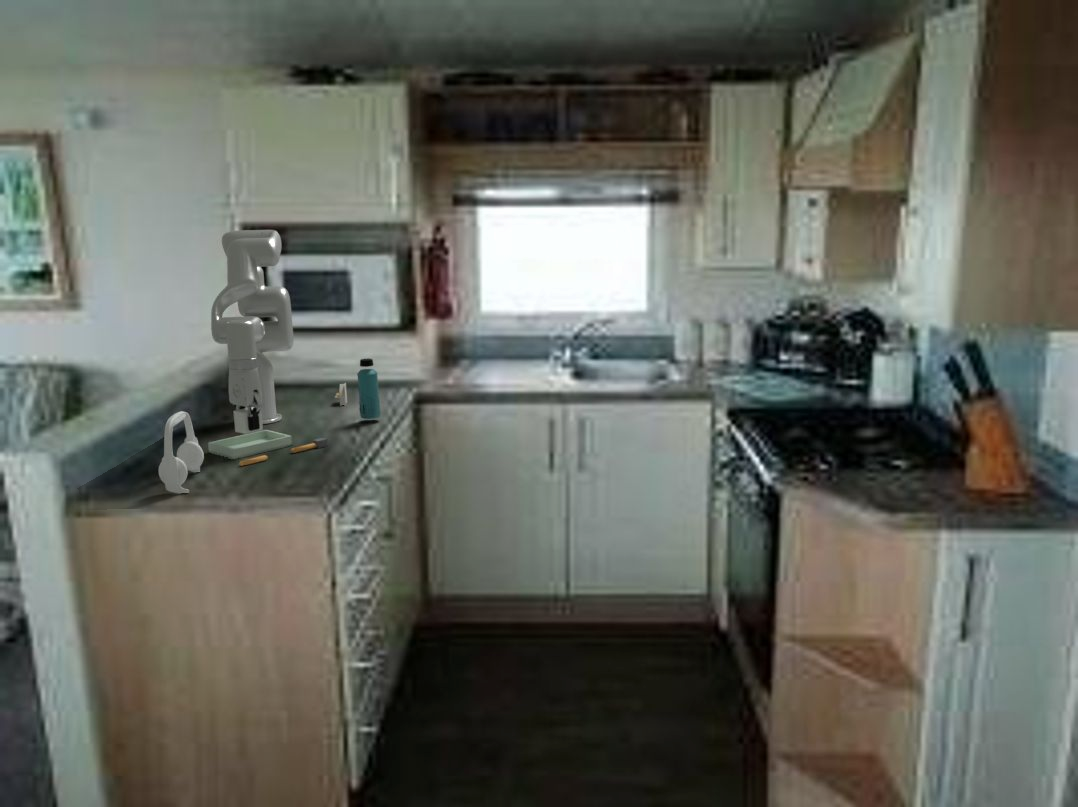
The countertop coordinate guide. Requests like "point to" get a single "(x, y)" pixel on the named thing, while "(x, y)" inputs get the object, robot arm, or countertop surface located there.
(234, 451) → the tray
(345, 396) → the architectural model
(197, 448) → the headset
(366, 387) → the beverage bottle
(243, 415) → the pale grey cuboid
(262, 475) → the countertop surface
